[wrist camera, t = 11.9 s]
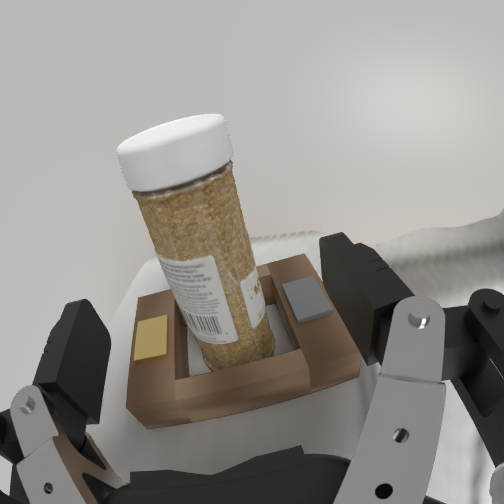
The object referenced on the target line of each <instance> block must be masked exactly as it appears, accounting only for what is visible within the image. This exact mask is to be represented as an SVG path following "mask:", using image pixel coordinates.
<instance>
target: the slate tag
mask: <svg viewBox="0 0 504 504" xmlns="http://www.w3.org/2000/svg"><path fill="white" fill-rule="evenodd" d="M282 288H283V291H284V293H285V295H286V297H287V300H288V302H289V304H290V307H291V309H292V311H293V314H294V316H295V318H296V320H297V323H298V324H300V323H303V322H306V321H310V320H313V319H316V318H319V317H322V316H326V315H329V314H332V313H333V309H332V307H331V305H330V303H329V302H328V300H327V298H326V297H325V295H324V293H323V291H322V290H321V288H320V286H319V285H318V283H317V281H316V280H315V278H314V276H309V277H306V278H303V279H299V280H296V281H292V282H289V283H285V284H282Z"/></svg>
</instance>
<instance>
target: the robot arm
mask: <svg viewBox="0 0 504 504" xmlns="http://www.w3.org/2000/svg"><path fill="white" fill-rule="evenodd" d="M319 246H320V258H321V271H322V280H323V284H324V287H325V290H326V292H327V294H328V296H329V298H330V300H331V301H332V303H333V305H334V307H335V308H336V310H337V312H338V314H339V315H340V317H341V319H342V321H343V323H344V324H345V326H346V328H347V330H348V331H349V333H350V335H351V337H352V339H353V340H354V342H355V344H356V346H357V348H358V350H359V351H360V353H361V355H362V357H363V359H364V361H365V362H366V364H367V366H369V365H371V364H374V363H377V362H379V363H380V365H381V371H380V374H379V376H378V380H377V383H376V387H375V390H374V394H373V397H372V401H371V404H370V407H369V411H368V414H367V417H366V420H365V423H364V426H363V429H362V432H361V435H360V438H359V441H358V444H357V446H356V449H355V452H354V455H353V457H352V460H349V459H347V458H343V457H339V456H334V455H327V454H304V452H303V449H302V446H301V445H300V446H296V447H293V448H289V449H285V450H281V451H277V452H273V453H269V454H265V455H261V456H256V457H254V458H252V459H250V460H248V461H245V462H243V463H241V464H239V465H236V466H234V467H232V468H229V469H227V470H224V471H222V472H220V473H217V474H214V475H203V474H194V473H186V472H179V471H172V470H159V471H141V472H130V483H128V484H126V483H125V482H124V481H123V480H122V479H121V478H119V477H118V476H117V474H116V473H115V472H114V471H113V469H112V468H111V467H110V465H109V464H108V462H107V461H106V459H105V458H104V456H103V455H102V453H101V452H100V450H99V449H98V447H97V446H96V444H95V442H94V441H93V439H92V438H91V436H90V435H89V434H88V433H87V432H86V431H85V430H86V425H89V424H99V421H100V413H101V405H102V398H103V391H104V385H105V378H106V372H107V366H108V361H109V355H110V350H111V338H110V334H109V332H108V330H107V328H106V327H105V325H104V324H103V322H102V321H101V319H100V318H99V316H98V314H97V313H96V311H95V309H94V308H93V306H92V304H91V303H90V302H89V301H88V300H87V299H82V300H78V301H74V302H70V303H67V304H66V306H65V308H64V310H63V313H62V315H61V318H60V320H59V321H58V322H57V324H56V325H55V326H54V327H53V329H52V330H51V332H50V335H49V337H48V340H47V344H46V346H45V348H44V354H42V357H41V360H40V363H39V365H38V368H37V371H36V375H35V378H34V381H33V384H32V385H30V386H26V387H24V388H23V389H21V390H20V391H19V392H18V393H17V394H16V395H15V397H14V398H13V401H12V403H11V408H10V409H8V410H5V411H3V412H0V455H1V456H2V457H4V458H5V459H7V460H8V461H10V462H11V463H13V466H12V474H11V485H10V495H9V496H8V495H6V494H4V493H3V492H2V491H1V490H0V504H446V503H443V502H440V501H438V500H435V499H433V498H431V497H428V496H426V495H425V494H426V490H427V487H428V483H429V479H430V476H431V472H432V468H433V463H434V459H435V455H436V450H437V445H438V440H439V435H440V429H441V424H442V417H443V411H444V404H445V395H446V385H445V383H442V382H441V381H443V380H449V379H450V380H451V382H452V384H453V386H454V387H455V389H456V391H457V393H458V394H459V396H460V398H461V400H462V402H463V403H464V405H465V407H466V409H467V411H468V413H469V415H470V416H471V418H472V420H473V422H474V424H475V426H476V428H477V430H478V432H479V434H480V436H481V438H482V440H483V442H484V444H485V446H486V448H487V450H488V452H489V454H490V457H491V459H492V461H493V463H494V465H495V468H496V469H495V470H494V472H493V474H492V477H491V481H490V489H489V493H490V495H491V497H492V504H504V379H503V378H504V295H503V294H502V293H500V292H498V291H496V290H493V289H480V290H477V291H475V292H474V293H473V294H472V295H471V297H470V300H469V303H468V305H466V306H459V307H451V308H442V307H441V306H440V305H439V304H438V303H437V302H435V301H434V300H432V299H429V298H426V297H422V296H415V295H414V294H413V293H412V292H411V291H410V289H409V288H408V287H407V286H406V285H405V284H404V283H403V281H402V280H401V279H400V278H399V277H398V276H397V275H396V273H395V272H394V271H393V270H392V269H391V268H389V266H388V264H387V263H386V262H385V261H384V260H382V258H381V257H380V256H379V254H378V253H377V252H376V251H375V250H374V249H372V248H370V247H368V246H366V245H364V244H362V243H358V244H353V243H352V242H351V241H350V240H349V238H347V236H346V235H345V234H344V233H342V232H340V233H337V234H333V235H329V236H325V237H321V238H320V240H319ZM490 359H491V360H492V361H493V363H494V364H495V366H496V367H497V369H498V370H499V372H500V373H501V375H502V376H501V375H500V373H499V372H498V370H497V369H496V367H495V366H494V364H493V363H492V361H491V360H490ZM502 377H503V378H502Z"/></svg>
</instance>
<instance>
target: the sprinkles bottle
mask: <svg viewBox="0 0 504 504" xmlns="http://www.w3.org/2000/svg"><path fill="white" fill-rule="evenodd" d="M117 156H118V159H119V163H120V166H121V169H122V173H123V175H124V178H125V181H126V184H127V186H128V188H129V189H131V190H133V191H132V193H133V197H134V198H135V199H136V200H137V201H138V203H139V207H140V210H141V212H142V216H143V218H144V221H145V223H146V226H147V228H148V230H149V234H150V237H151V239H152V241H153V244H154V246H155V252H156V255H157V257H158V260H159V262H160V264H161V267H162V269H163V272H164V274H165V276H166V279H167V281H168V283H169V286H170V288H171V290H172V292H173V294H174V297H175V299H176V301H177V303H178V305H179V307H180V310H181V312H182V314H183V316H184V318H185V320H186V322H187V324H188V326H189V328H190V330H191V332H192V333H193V334H194V336H195V338H196V340H197V342H198V344H199V345H200V347H201V350H202V353H203V359H204V361H205V363H206V365H207V366H208V367H209V368H210V369H211V370H212V371H213V372H215V371H219V370H224V369H228V368H232V367H236V366H240V365H244V364H248V363H252V362H255V361H259V360H263V359H266V358H270V357H271V356H272V355H273V352H274V349H275V339H274V335H273V332H272V331H271V330H270V326H269V322H268V318H267V314H266V309H265V301H264V297H263V292H262V288H261V284H260V280H259V276H258V272H257V268H256V264H255V260H254V256H253V251H252V247H251V243H250V239H249V235H248V232H247V230H246V228H245V223H244V220H243V215H242V210H241V207H240V202H239V198H238V195H237V189H236V185H235V180H234V177H233V174H232V167H233V166H232V161H231V158H232V157H233V149H232V145H231V140H230V136H229V132H228V128H227V124H226V121H225V118H224V117H223V116H221V115H220V114H203V115H196V116H190V117H186V118H182V119H178V120H174V121H170V122H167V123H164V124H161V125H158V126H155V127H153V128H150V129H148V130H145V131H143V132H141V133H139V134H137V135H135V136H132V137H131V138H129V139H127V140H125V141H124V142H122V143H121V144H120V145H119V146H118V148H117Z"/></svg>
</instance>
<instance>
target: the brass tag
mask: <svg viewBox="0 0 504 504" xmlns="http://www.w3.org/2000/svg"><path fill="white" fill-rule="evenodd" d="M168 337H169V317H168V315H164V316H159V317H155V318H151V319H147V320H143V321H138V325H137V333H136V341H135V350H134V360H133V361H134V362H135V363H136V364H137V363H143V362H148V361H153V360H158V359H163V358H167V357H168Z"/></svg>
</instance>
